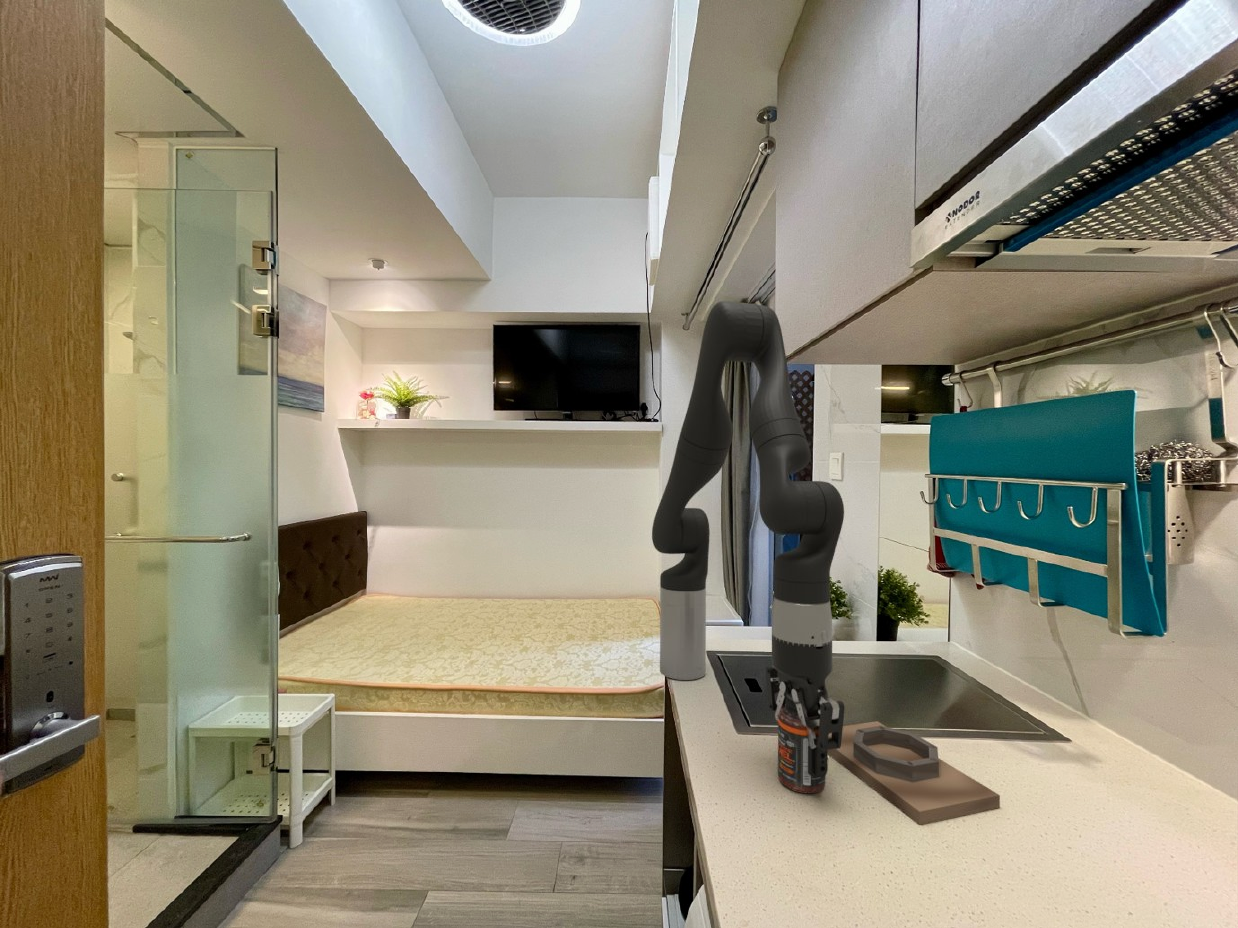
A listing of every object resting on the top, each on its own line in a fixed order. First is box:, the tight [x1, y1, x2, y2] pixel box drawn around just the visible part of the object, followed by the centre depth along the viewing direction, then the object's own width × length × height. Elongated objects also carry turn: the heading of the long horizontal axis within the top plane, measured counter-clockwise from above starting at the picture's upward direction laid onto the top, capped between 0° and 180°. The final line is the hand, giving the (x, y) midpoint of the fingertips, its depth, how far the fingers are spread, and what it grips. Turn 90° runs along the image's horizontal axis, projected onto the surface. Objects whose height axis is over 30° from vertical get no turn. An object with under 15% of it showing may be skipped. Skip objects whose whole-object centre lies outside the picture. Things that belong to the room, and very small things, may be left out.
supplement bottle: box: [777, 693, 827, 794], centre depth 70 cm, size 6×6×11 cm
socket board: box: [828, 720, 1001, 826], centre depth 72 cm, size 20×12×4 cm, turn 16°
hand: (801, 761), depth 69 cm, fingers closed on supplement bottle, 6 cm apart
